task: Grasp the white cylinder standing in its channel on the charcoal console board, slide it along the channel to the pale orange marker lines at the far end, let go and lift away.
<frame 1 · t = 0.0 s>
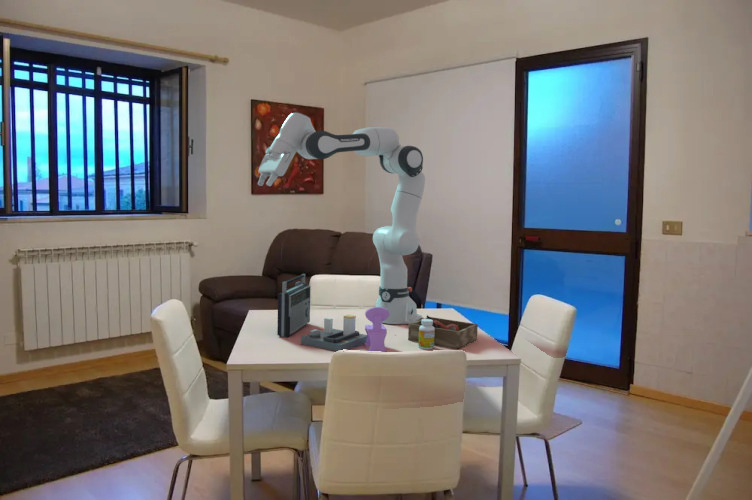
hand: (263, 185, 218), 54 cm above the table, tool tilted 30°, fingers open, 8 cm apart
supplement bottle: (426, 348, 209), on the table
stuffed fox: (442, 339, 220), resting on wooden tray
console: (335, 343, 212), on the table
toy chair: (375, 349, 206), on the table
wooden tray: (442, 340, 220), on the table
radio: (295, 330, 230), on the table
white cylinder: (349, 335, 213), point 2 cm above the table, touching console
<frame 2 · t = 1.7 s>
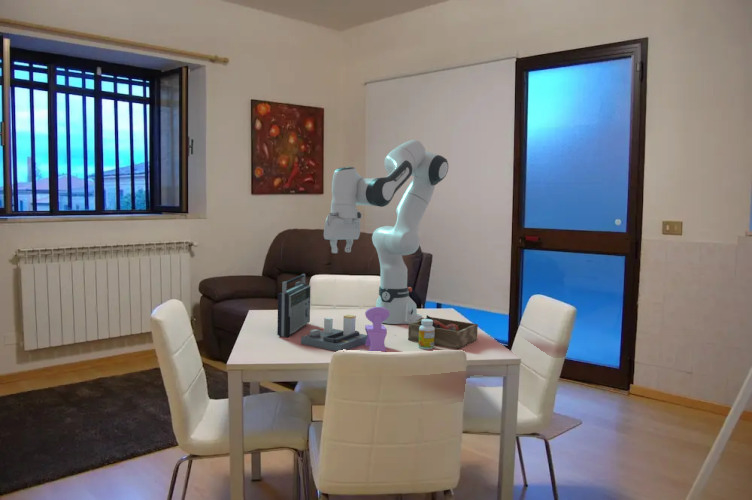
hand: (341, 252, 212), 32 cm above the table, tool pointing down, fingers open, 8 cm apart
nothing on the table moved.
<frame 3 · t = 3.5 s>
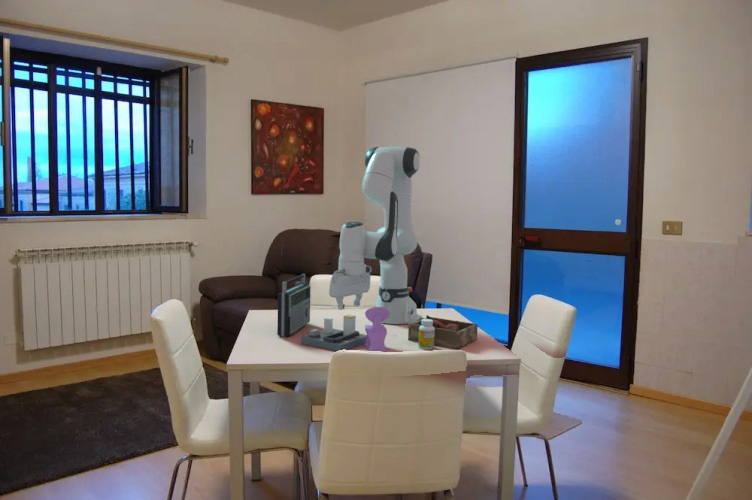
hand: (349, 307, 212), 13 cm above the table, tool pointing down, fingers open, 8 cm apart
nothing on the table moved.
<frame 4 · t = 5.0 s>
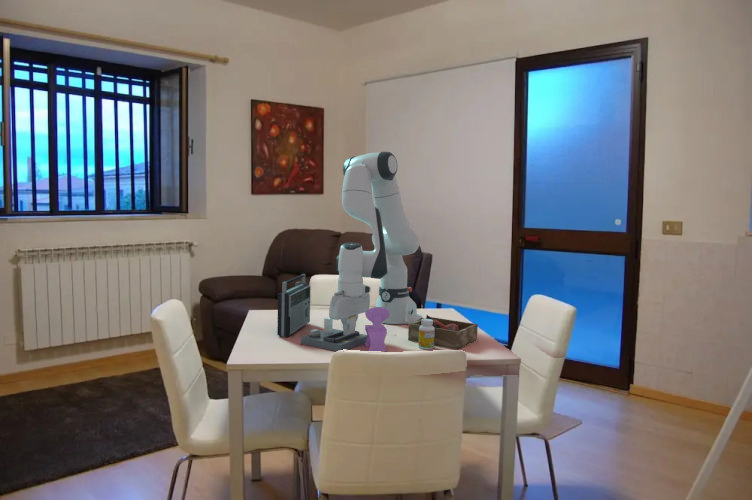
hand: (349, 328, 213), 5 cm above the table, tool pointing down, fingers closed on white cylinder, 3 cm apart
white cylinder: (349, 335, 213), point 3 cm above the table, touching console, gripper
everything else where it was.
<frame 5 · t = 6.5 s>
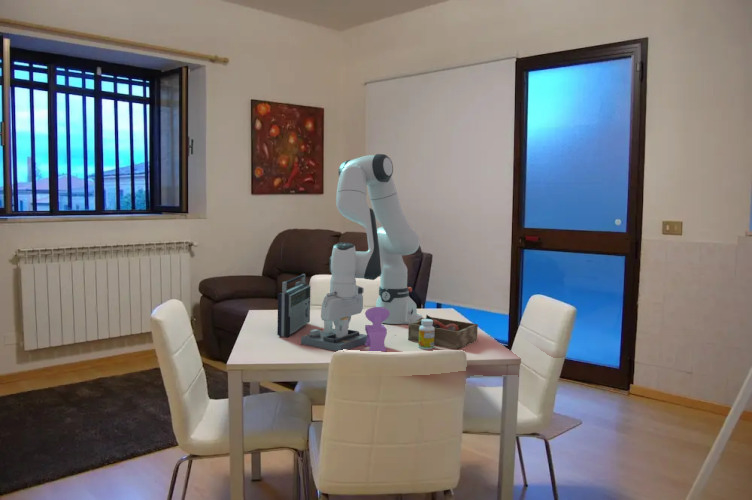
hand: (341, 329, 209), 5 cm above the table, tool pointing down, fingers closed on white cylinder, 3 cm apart
white cylinder: (341, 337, 209), point 3 cm above the table, touching gripper
everything else where it was.
when the fingers open (5 cm above the table, at t = 7.6 s): white cylinder stays where it is, resting on console.
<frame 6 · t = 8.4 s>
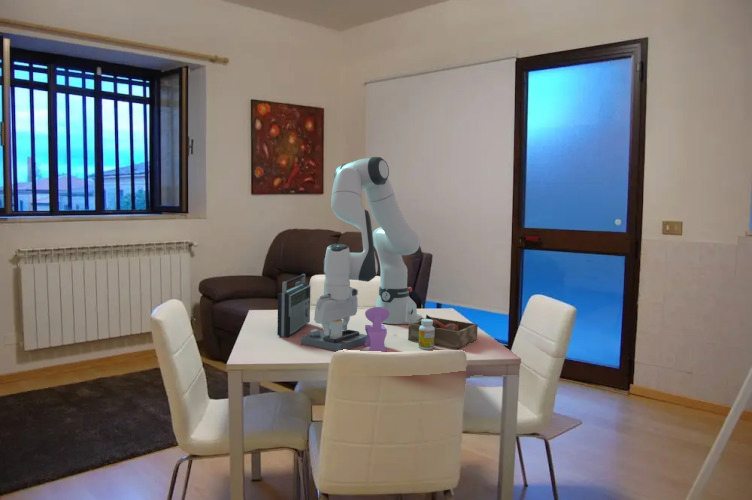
hand: (335, 332, 206), 5 cm above the table, tool pointing down, fingers open, 8 cm apart
white cylinder: (335, 339, 206), point 2 cm above the table, touching console
everything else where it was.
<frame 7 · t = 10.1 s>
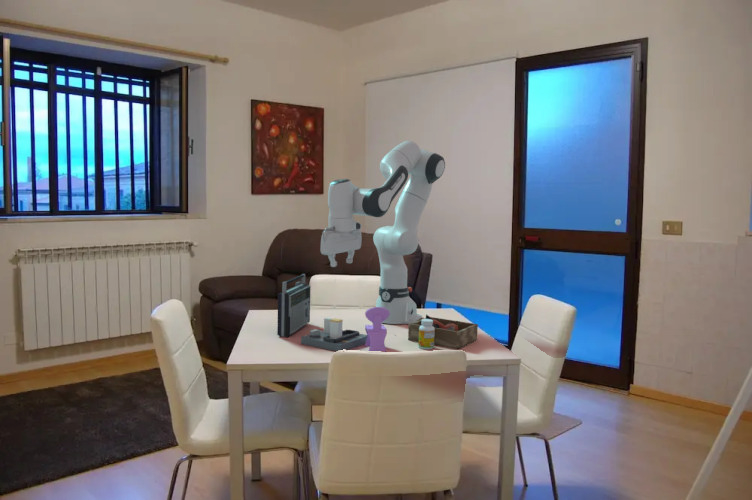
hand: (341, 264, 213), 27 cm above the table, tool pointing down, fingers open, 8 cm apart
nothing on the table moved.
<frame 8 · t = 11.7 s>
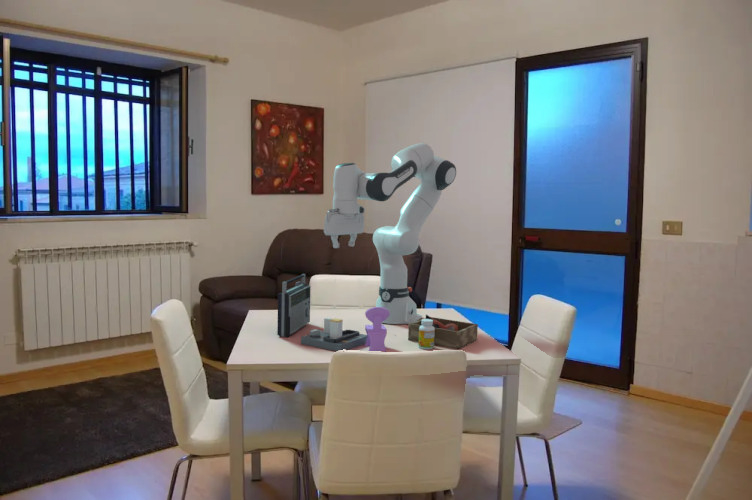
hand: (343, 247, 217), 33 cm above the table, tool pointing down, fingers open, 8 cm apart
at the end: white cylinder 0.4 cm from the target spot, point 2.5 cm above the table; white cylinder moved 8.0 cm from its start; the gripper is holding nothing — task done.
